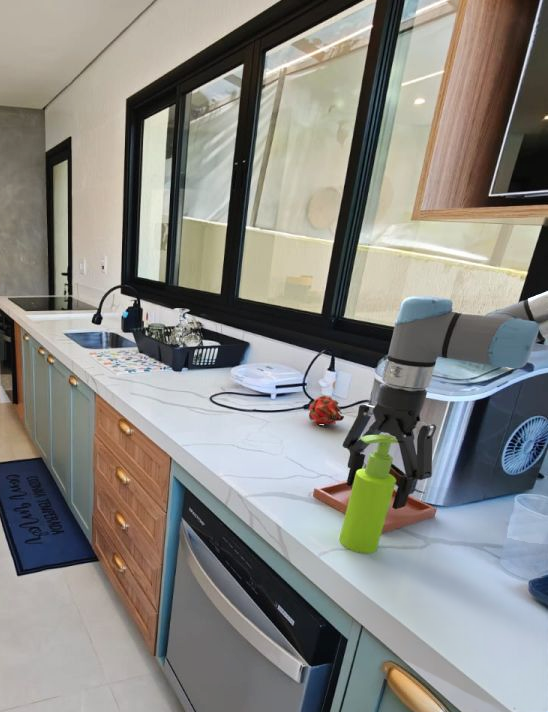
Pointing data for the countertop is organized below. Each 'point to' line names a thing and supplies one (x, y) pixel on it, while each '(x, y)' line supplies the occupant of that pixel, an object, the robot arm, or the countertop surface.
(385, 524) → the tray
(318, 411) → the dragon fruit
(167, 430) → the countertop surface
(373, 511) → the soap dispenser
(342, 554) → the countertop surface
